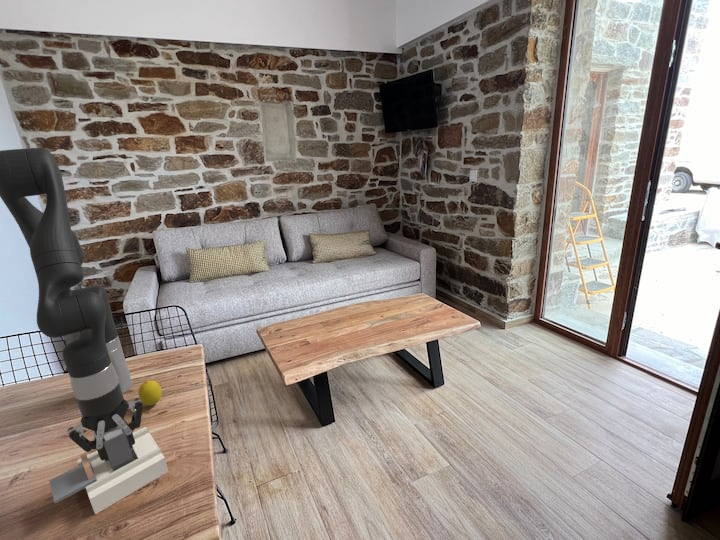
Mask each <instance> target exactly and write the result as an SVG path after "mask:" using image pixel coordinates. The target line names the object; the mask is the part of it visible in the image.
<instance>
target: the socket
mask: <svg viewBox="0 0 720 540" xmlns="http://www.w3.org/2000/svg"><path fill="white" fill-rule="evenodd" d="M132 433H133V437H134V440H135V444H134V445H132V446H133V448H131V453H132V456H133V459H134V461H133V462H131V463H129V464H127V465H125V466H123V467H121V468H120V469H118V470H116V471H114V472H113V470H112V468H111V465H110V462H109V460H108V461H105V459H104V460H101V459H100V457H99V454H98V451H97V450H96V451H93V452H91V453H89V454H86V455H87V458H88V460H90V462H91V465H92V468H93V471H94V473H95V476H96V479H97V481H96V482H94V483H92V484H90V485H88V486H86V487H85V490H86V493H87V495H88V499H89V501H90V504H91V507H92V509H93V510H92V511H93V513H94V515H97V514H98V513H100V512H101V511H104V510H106V509H107V508H109V507H110V506H112V505H114V504H115V503H117V502H119V501H121V500H122V499H124V498H126V497H127V496H129V495H131V494H133V493H134V492H136V491H138V490H139V489H141V488H143V487H145V486H146V485H148V484H150V483H151V482H153V481H156V480H157V479H159V477H163V476H164V475H165V474H167V473H168V472H169V468H168V463H167V462H166V461H167V460H166V457H165V456H164V453H162V449H161V447H159V445H158V444H157V443H156V441H155V439H154V438H153V436H152V435H151V433H150V430H149V428H148V427H146V426H144V427H142V428H140V429H138V430H136V431H133V432H132ZM77 464H78V465H77V466H79V465H81V464H83V463H82V460H81V458H79V459H77Z"/></svg>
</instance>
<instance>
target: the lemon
mask: <svg viewBox="0 0 720 540" xmlns="http://www.w3.org/2000/svg"><path fill="white" fill-rule="evenodd" d="M162 392H163V391H162V388H161V386H160V384H159V383H158V382H157V381H155V380H146V381H144V382H143V383H142V384H140V386H139V389H138V398H139V399H140V400H141V402H142V403H143V405H146V406H155V404H158V402H159V401H160V399H161V397H162V394H163V393H162Z"/></svg>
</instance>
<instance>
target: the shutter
mask: <svg viewBox="0 0 720 540" xmlns="http://www.w3.org/2000/svg"><path fill="white" fill-rule="evenodd" d="M87 455H88V454H87V452H86V451H84V453H82V454H79V456H80V459H81V460H82V463H83V464H81V465H77V466H75V467H74V468H71V469H70V470H68V471H66V472H63V473H61V474H60V475H57V476H55V477H53V478H51V479H50V480H49V484H50V489H51V494H52V498H53V499H52V500H53V502H54V505H55V504H57V503H60V502H62V501H63V500H65V499H66V498H68V497H70V496H72V495H74V494H76V493H78V492H80V491H81V490H85V489H86V486H88V485H90V484H92V483H94V482H96V481H97V479H96V476H95V473H94V471H93V468H92V465H91V462H90V460H88V458H87Z"/></svg>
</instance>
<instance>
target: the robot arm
mask: <svg viewBox="0 0 720 540" xmlns="http://www.w3.org/2000/svg"><path fill="white" fill-rule="evenodd" d="M61 173H62V172H61V170H60V167H59V165H58V162H57V160H56V159H55V157H54V155H53V154H52V153H51V151H50V150H48V149H46V148H43V147H31V148H30V147H28V148H16V149H15V148H14V149H6V150H5V149H3V150H0V198H1V200H2V202H3V203H4V205H5V207H6V208H7V209H8V211H9V212H10V214H11V215H12V217H13V219H14V221H15V222H16V224H17V225H18V228H19V229H20V231H21V234H22V235H23V237H24V239H25V242H26V244H27V245H28V248H29V254H30V259H31V261H32V264H33V269H34V272H35V275H36V279H37V284H38V301H37V310H36V324H37V327H38V329H39V331H40V332H41V333H42V334H43V335H44V336H45V337H48V338H55V339H56V338H62V337H64V336H68V335H71V334H75V333H78V332H81V333H79V335H78V339H75V340H74V341H71V342H69V344H66V345H65V347H64V348H63V349H62V357H63V361H64V364H65V366H66V370H67V372H68V375H69V379H70V380H69V381H70V386H71V389H72V393H73V395H74V398H75V400H76V404H77V405H78V408H79V412H80V415H81V419H80V422H79V423H78V424H76V425H75V426H71V427H69V428H68V429H67V435H68V437H69V439H70V440H71V441H73V442H74V443H75V444H76V445H78V447H80V448H81V449H82V450H83V451H84V452H86V453H90V452H91V451H93V450H96V451H98V454H99V457H100V459H101V460H104V459H105V461H108V460H109V458H108V455H107V452H106V449H105V446H104V444H103V439H104V432H106V431H108V430H109V429H110V428H113V427H116V426H119V427H120V428H121V429H122V430H123V431H125V434H126V437H127V440H128V443H129V446H130V449H131V448H133V446H132V445H134V444H135V440H134V437H133V433H134V430H136V429H139V428H140V427H141V422H142V415H143V407H144V404H143V403H142V402H141V400H140V398H139V397H137V398H135V399H134V400H133V401H132V400H131V401H127V400H126V399H125V398H124V395H123V394H124V393H126V392H127V391H129V390H130V389H131V387H132V385H133V381H132V378H131V374H130V371H129V367H128V365H127V361H126V358H125V353H124V351H123V350H124V349H123V347H122V343H121V341H120V340H121V339H120V337H119V334H118V330H117V327H116V324H115V320H114V317H113V313H112V309H111V304H110V299H109V295H108V293H107V289H105V287H104V286H103V285H99V284H98V285H93V286H87V287H82V288H77V289H72V288H73V287H75V286H77V285H79V284H81V283H82V282H83V281H84V277H85V276H84V270H83V268H82V266H83V262H84V259H85V254H84V251H83V249H82V246H81V242H79V239H78V236H77V234H76V233H75V232H74V231H73V230H72V227H71V221H70V213H69V208H68V207H69V206H68V202H67V196H66V191H65V186H64V181H63V176H62V174H61ZM41 195H46V204H45V205H46V206H45V208H44V211H43V212H42V211H41V210H40V209H39V208H37V207H36V206H34V205H33V204H32V202H31V201H30V200H28V198H26V197H32V196H41ZM129 409H130V411H131V412H132V415H131V421H130V422H129V423H128V422H127V421H126V420H125V416H126V414H127V412H128V410H129ZM84 429H87V430H90V431H92V432H93V440H89V439H88V438H87V437H85V435H84Z"/></svg>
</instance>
